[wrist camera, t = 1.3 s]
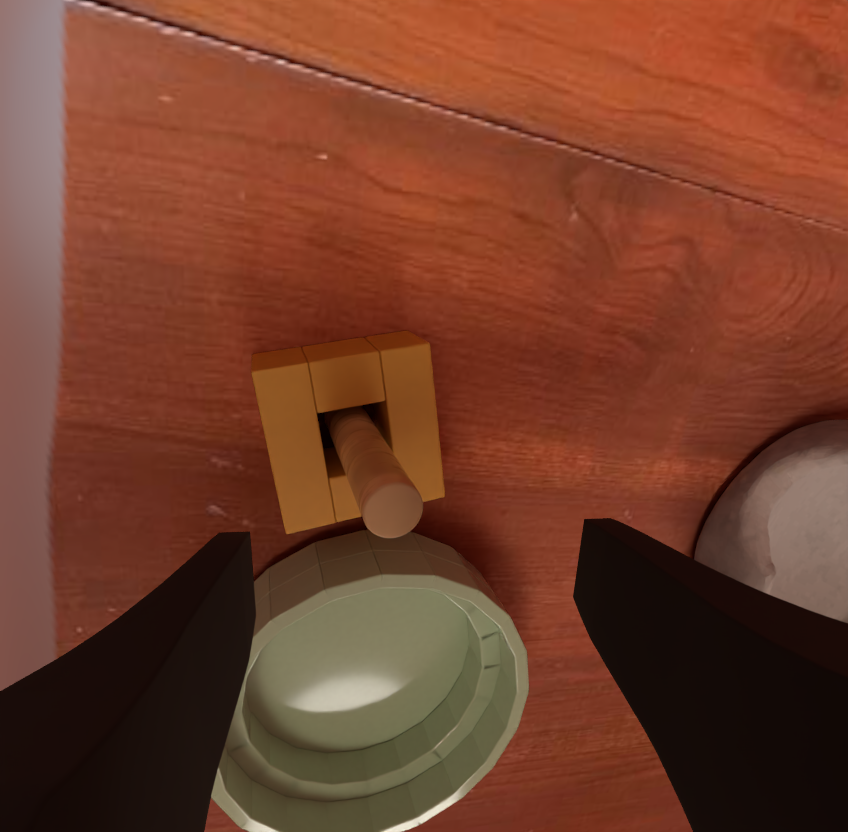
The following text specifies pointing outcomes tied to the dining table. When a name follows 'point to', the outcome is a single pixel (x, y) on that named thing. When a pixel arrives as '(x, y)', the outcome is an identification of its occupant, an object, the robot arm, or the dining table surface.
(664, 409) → the dining table surface
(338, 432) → the stick
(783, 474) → the dish
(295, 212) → the dining table surface
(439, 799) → the bowl
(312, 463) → the stand
